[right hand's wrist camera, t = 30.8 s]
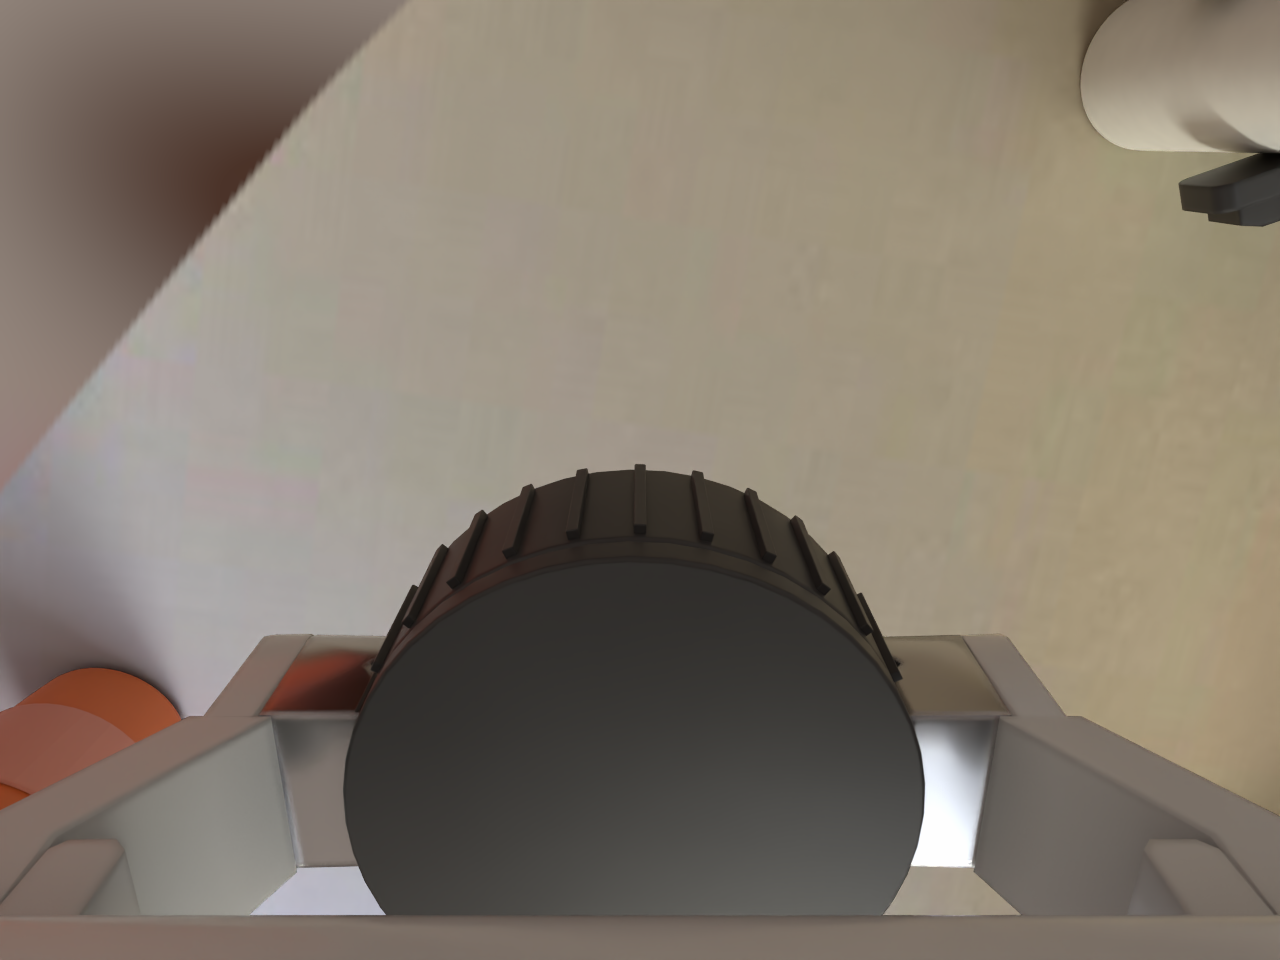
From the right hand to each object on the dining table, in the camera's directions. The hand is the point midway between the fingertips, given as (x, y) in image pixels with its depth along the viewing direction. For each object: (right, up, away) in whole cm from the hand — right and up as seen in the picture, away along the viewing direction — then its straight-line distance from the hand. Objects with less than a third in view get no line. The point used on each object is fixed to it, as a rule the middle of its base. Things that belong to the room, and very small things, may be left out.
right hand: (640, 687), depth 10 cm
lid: (0, -1, -2) cm, 2 cm away
